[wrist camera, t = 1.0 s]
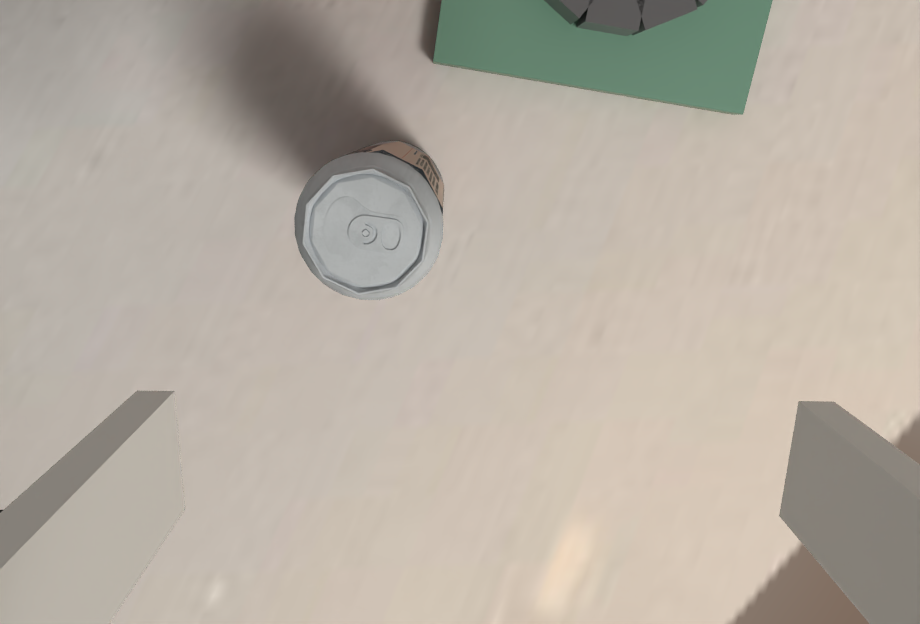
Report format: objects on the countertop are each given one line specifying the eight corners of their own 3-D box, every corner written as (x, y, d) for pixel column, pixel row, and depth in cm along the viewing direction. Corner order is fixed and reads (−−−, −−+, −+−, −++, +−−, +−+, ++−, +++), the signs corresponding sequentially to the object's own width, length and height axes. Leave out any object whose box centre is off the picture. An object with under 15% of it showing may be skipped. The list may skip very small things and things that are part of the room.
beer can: (349, 132, 32) (294, 142, 21) (451, 148, 33) (453, 166, 21) (338, 234, 34) (281, 297, 22) (436, 248, 34) (431, 317, 22)
